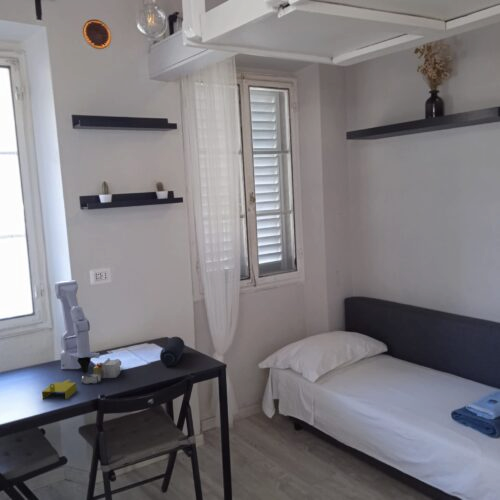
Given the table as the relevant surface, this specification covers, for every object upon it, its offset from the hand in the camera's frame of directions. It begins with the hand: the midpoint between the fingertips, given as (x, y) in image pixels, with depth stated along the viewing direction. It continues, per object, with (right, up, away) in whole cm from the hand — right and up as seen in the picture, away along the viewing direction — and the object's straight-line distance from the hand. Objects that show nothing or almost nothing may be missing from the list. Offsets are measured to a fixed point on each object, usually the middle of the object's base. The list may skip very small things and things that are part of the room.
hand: (85, 372), depth 254 cm
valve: (+10, -1, -1) cm, 10 cm away
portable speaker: (+40, +2, +17) cm, 43 cm away
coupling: (+13, -1, +1) cm, 13 cm away
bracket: (-4, -5, -22) cm, 22 cm away
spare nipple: (+6, -3, -9) cm, 11 cm away
